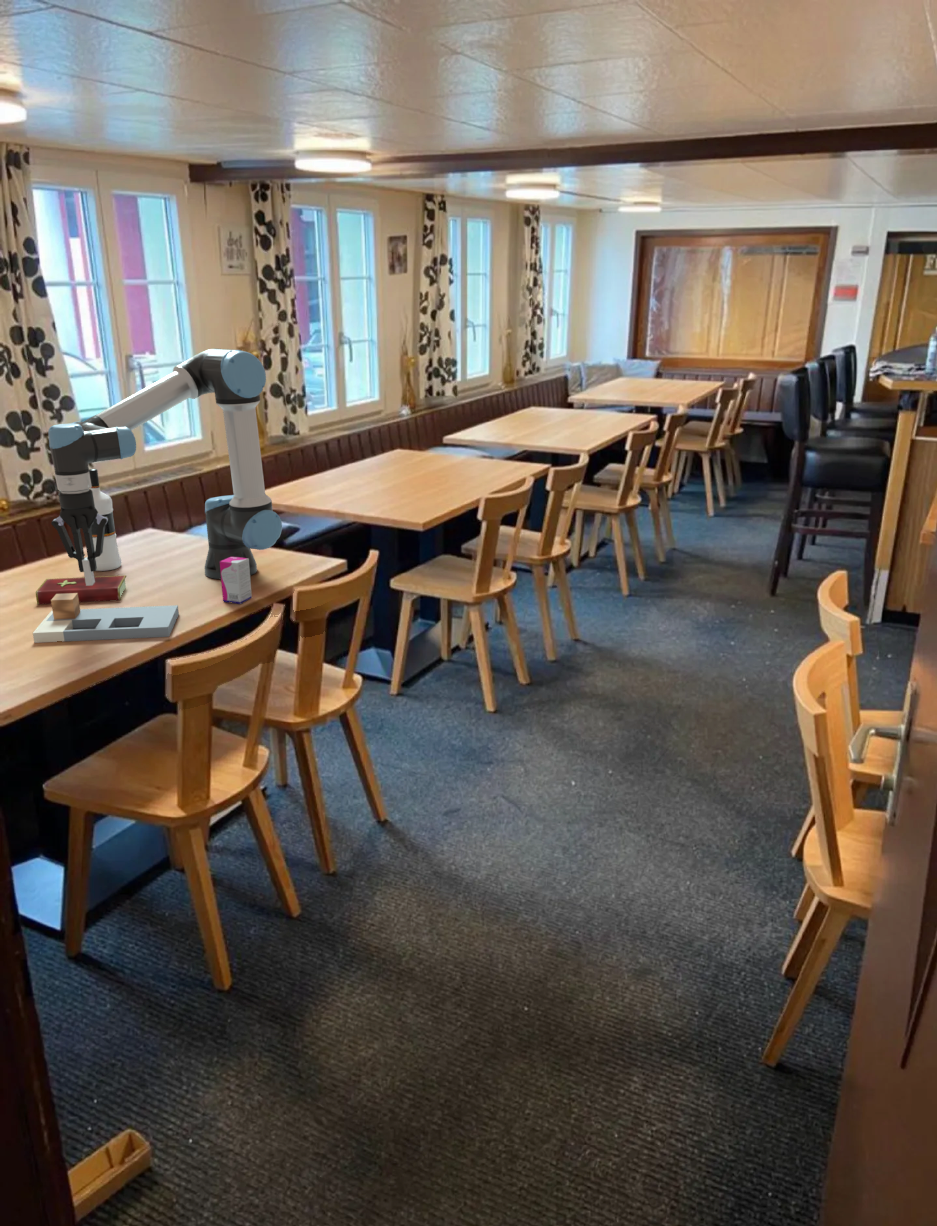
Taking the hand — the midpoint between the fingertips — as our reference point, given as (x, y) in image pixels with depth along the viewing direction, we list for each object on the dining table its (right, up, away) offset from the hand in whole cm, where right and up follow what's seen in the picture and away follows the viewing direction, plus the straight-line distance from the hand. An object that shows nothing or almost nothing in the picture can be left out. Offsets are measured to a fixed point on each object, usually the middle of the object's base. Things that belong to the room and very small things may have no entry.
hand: (90, 583), depth 217 cm
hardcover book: (-12, -3, +24) cm, 27 cm away
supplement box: (+31, -4, +21) cm, 38 cm away
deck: (+5, -11, 0) cm, 12 cm away
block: (-6, -8, +1) cm, 10 cm away
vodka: (-16, +6, +48) cm, 51 cm away
